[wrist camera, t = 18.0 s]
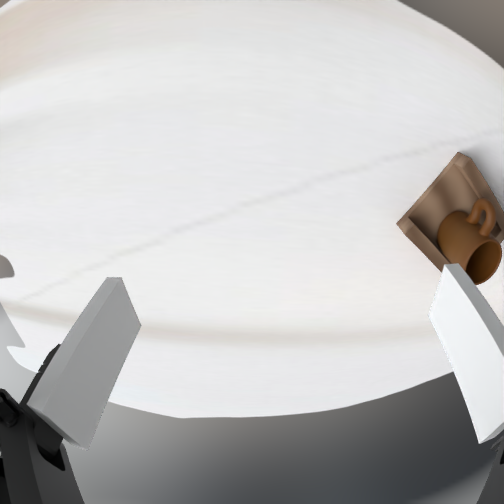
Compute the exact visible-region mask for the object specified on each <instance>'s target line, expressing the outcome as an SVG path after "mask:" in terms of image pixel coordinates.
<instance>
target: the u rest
mask: <svg viewBox="0 0 504 504" xmlns="http://www.w3.org/2000/svg"><path fill="white" fill-rule="evenodd" d="M480 198H486V199H489V200H490V201H491V202H492V203H493V205H494V207H495V210H496V223H495V226H494V228H493V229H492V231H491V234H492V235H493V236H494V237H495V239H496V240H497V241H498V242H499V243H501V242H502V241H503V240H504V212H503V210H502V208H501V206H500V205H499V203H498V201H497V199H496V198H495V196H494V194H493V192H492V191H491V189H490V187H489V186H488V184H487V182H486V181H485V179H484V178H483V176H482V174H481V173H480V171H479V170H478V168H477V167H476V165H475V164H474V162H473V161H472V159H471V158H469V157H467V156H465V155H463V154H461V153H459V152H457V154H456V155H455V156H454V157H453V159H452V160H451V161H450V162H449V164H448V165H447V166H446V167H445V168H444V170H443V171H442V172H441V173H440V175H439V176H438V177H437V178H436V179H435V180H434V182H433V183H432V184H431V185H430V186H429V188H428V189H427V190H426V191H425V192H424V193H423V194H422V196H421V197H420V198H419V199H418V200H417V201H416V202H415V204H414V205H413V206H412V207H411V208H410V209H409V210H408V211H407V212H406V214H405V215H404V216H403V217H402V218H401V219H400V220H399V221H398V222H397V223H396V224H397V225H398V226H399V228H400V229H401V230H402V232H403V233H404V234H405V235H406V236H407V237H408V238H409V239H410V240H411V241H412V242H413V243H414V244H415V245H416V246H417V247H418V248H419V249H420V250H421V251H422V252H423V253H424V254H425V256H426V257H427V258H428V259H429V260H430V261H431V262H432V263H433V264H434V265H435V266H436V267H437V268H438V269H439V270H440V271H441V273H442V271H443V268H444V264H451V262H450V261H449V260H448V258H447V257H446V256H445V255H444V253H443V252H442V251H441V249H440V248H439V245H438V243H437V232H438V228H439V226H440V224H441V222H442V221H443V219H444V218H445V217H446V216H447V215H449V214H450V213H452V212H455V211H463V212H466V213H468V214H469V215H470V214H471V211H472V207H473V205H474V203H475V202H476V201H477V200H478V199H480ZM485 219H486V211H485V210H483V211H482V215H481V218H480V221H479V223H480V224H481V225H483V223H484V221H485Z"/></svg>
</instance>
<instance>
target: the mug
mask: <svg viewBox="0 0 504 504" xmlns="http://www.w3.org/2000/svg"><path fill="white" fill-rule="evenodd" d="M483 210H485V211H486V219H485V221H484V223H483V225H481V224H480V223H479V221H480V218H481V215H482V211H483ZM495 223H496V210H495V207H494V205H493V203H492V202H491V201H490V200H489V199H486V198H480V199H478V200H477V201H476V202H475V203H474V205H473V207H472V211H471V214H470V215H469V214H468V213H466V212H463V211H455V212H452V213H450V214H449V215H447V216H446V217H445V218H444V219H443V221H442V222H441V224H440V226H439V228H438V232H437V243H438V245H439V248H440V249H441V251H442V252H443V253H444V255H445V256H446V257H447V258H448V260H449V261H450V262H451V264H457V263H459V265H460V266H461V267H462V268H463V270H464V271H465V272H466V274H467V275H468V276H469V277H470V279H471V280H472V281H473V283H474V284H475V285H478V284H481V283H484V282H485V281H487V280H488V279H489V278H490V277H491V276H492V275H493V274H494V273H495V271H496V270H497V268H498V266H499V264H500V262H501V258H502V248H501V245H500V243H499V242H498V241H497V240H496V239H495V237H494V236H493V235H492V234H491V231H492V229H493V228H494V226H495Z"/></svg>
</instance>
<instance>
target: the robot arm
mask: <svg viewBox="0 0 504 504" xmlns="http://www.w3.org/2000/svg"><path fill="white" fill-rule="evenodd" d="M428 317H429V319H430V321H431V323H432V325H433V327H434V329H435V331H436V333H437V335H438V337H439V339H440V341H441V344H442V346H443V348H444V350H445V352H446V355H447V357H448V359H449V361H450V364H451V366H452V369H453V371H454V373H455V376H456V378H457V380H458V383H459V386H460V388H461V390H462V394H463V396H464V399H465V402H466V404H467V407H468V410H469V413H470V416H471V419H472V422H473V425H474V428H475V431H476V434H477V438H478V441H479V444H480V443H482V442H485V441H487V440H489V439H492V438H494V437H495V436H496V435H498V434H499V433H500V432H501V431H502V430H503V429H504V326H503V325H502V323H501V322H500V320H499V319H498V317H497V316H496V314H495V312H494V311H493V310H492V308H491V307H490V305H489V304H488V302H487V301H486V299H485V298H484V296H483V295H482V294H481V292H480V291H479V290H478V288H477V287H476V285H475V284H474V283H473V281H472V280H471V279H470V277H469V276H468V275H467V274H466V272H465V271H464V270H463V268H462V267H461V266H460V265H459V263H457V264H444V268H443V271H442V275H441V278H440V281H439V285H438V288H437V291H436V294H435V297H434V300H433V303H432V306H431V309H430V312H429V314H428ZM140 327H141V324H140V321H139V319H138V317H137V314H136V312H135V310H134V307H133V305H132V303H131V300H130V298H129V295H128V293H127V290H126V288H125V285H124V283H123V280H122V277H107V278H106V280H105V281H104V282H103V284H102V285H101V286H100V288H99V289H98V291H97V292H96V293H95V295H94V296H93V298H92V299H91V300H90V302H89V303H88V305H87V306H86V308H85V309H84V310H83V312H82V313H81V315H80V316H79V318H78V319H77V321H76V322H75V324H74V325H73V327H72V328H71V330H70V331H69V333H68V334H67V336H66V338H65V339H64V341H63V342H62V344H58V345H57V346H56V347H55V348H54V349H53V350H52V351H51V352H49V354H48V356H47V357H46V359H45V360H44V362H43V365H41V367H40V369H39V370H38V373H37V374H36V376H35V377H34V379H33V381H32V383H31V384H30V386H29V388H28V390H27V391H26V393H25V395H24V397H23V399H22V401H21V402H20V404H18V403H17V402H16V401H15V400H14V399H13V398H12V397H11V396H10V394H9V393H8V392H7V391H6V390H4V389H0V452H1V456H0V504H84V501H83V499H82V496H81V494H80V491H79V488H78V486H77V483H76V480H75V477H74V474H73V471H72V468H71V465H70V462H69V459H68V455H67V452H66V449H65V447H64V445H63V444H62V443H61V442H62V440H63V438H64V439H65V440H67V441H68V442H69V443H70V444H72V445H73V446H76V447H78V448H81V449H84V450H86V451H88V450H89V447H90V444H91V441H92V439H93V436H94V434H95V431H96V428H97V426H98V423H99V421H100V418H101V416H102V413H103V411H104V408H105V406H106V404H107V401H108V399H109V396H110V394H111V392H112V389H113V387H114V385H115V382H116V380H117V378H118V375H119V373H120V371H121V369H122V366H123V364H124V362H125V360H126V357H127V355H128V353H129V351H130V349H131V347H132V344H133V342H134V340H135V338H136V336H137V334H138V332H139V330H140ZM498 445H500V446H499V448H497V450H496V452H497V455H496V458H495V461H494V463H493V466H492V469H491V472H490V474H489V477H488V479H487V481H486V484H485V486H484V489H483V491H482V493H481V495H480V498H479V500H478V502H477V504H504V435H503V436H502V437H501V438H500V439H499V440H498V441H496V443H494V444H493V445H492V447H491V450H493V449H495V448H496V447H497V446H498Z"/></svg>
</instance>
